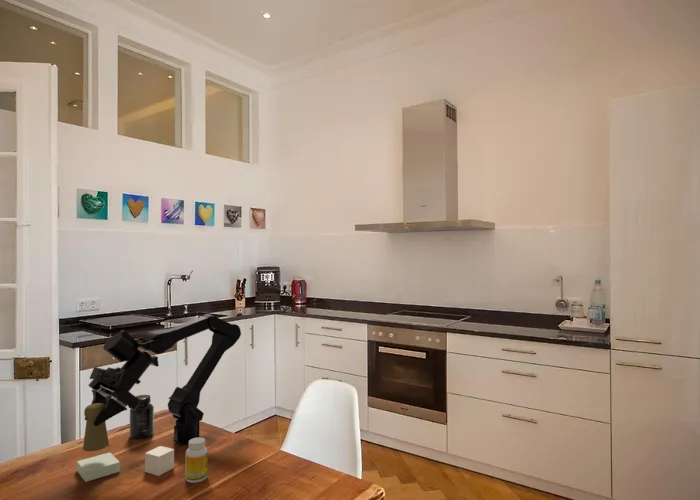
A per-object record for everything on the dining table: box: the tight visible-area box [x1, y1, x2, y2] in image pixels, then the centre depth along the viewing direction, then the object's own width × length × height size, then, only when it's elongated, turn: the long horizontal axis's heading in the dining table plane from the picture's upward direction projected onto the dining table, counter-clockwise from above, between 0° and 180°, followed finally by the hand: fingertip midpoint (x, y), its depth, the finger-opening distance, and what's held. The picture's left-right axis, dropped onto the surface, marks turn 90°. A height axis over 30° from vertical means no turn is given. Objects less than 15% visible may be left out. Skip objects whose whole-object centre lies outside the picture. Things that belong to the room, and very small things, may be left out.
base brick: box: [76, 452, 121, 483], centre depth 120 cm, size 8×8×2 cm
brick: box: [144, 445, 175, 477], centre depth 121 cm, size 5×5×5 cm
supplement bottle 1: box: [129, 394, 155, 440], centre depth 144 cm, size 7×7×12 cm
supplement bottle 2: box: [184, 437, 209, 484], centre depth 117 cm, size 5×5×10 cm
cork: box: [82, 403, 110, 452], centre depth 120 cm, size 6×6×11 cm
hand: (90, 422), depth 119 cm, fingers closed on cork, 5 cm apart
